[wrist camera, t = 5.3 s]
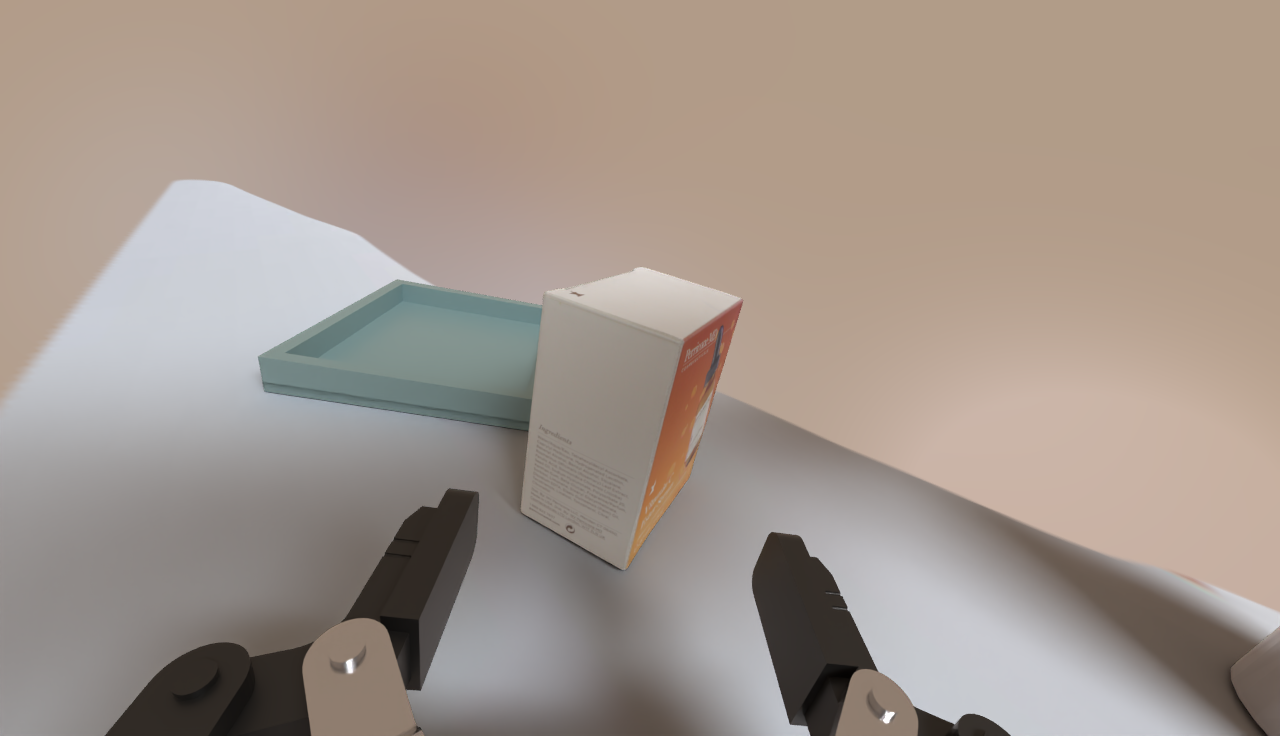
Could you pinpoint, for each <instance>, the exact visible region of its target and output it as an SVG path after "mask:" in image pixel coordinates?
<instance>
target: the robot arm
mask: <svg viewBox="0 0 1280 736" xmlns="http://www.w3.org/2000/svg"><path fill="white" fill-rule="evenodd" d="M478 504H479V494H478V492H473V491H465V490H458V489H450V488H449V489H448V490H447V491H446V493H445V495H444V496H443V498H442V500H441V502H440V504H439V506H438V508H432V507H424V506H422V507H421V508H420V509H418V510H417V511H416V512H415V513H413V514H412V515H411V516H410V517H408V518H407V519H406V520H405V521H404V522H403V524H402V526H401V527H400V529H399V531H398V532H397V534H396V536H395V537H394V540H393V542H391V544H390V546H389V547H388V549H387V550H386V552H385V556H384V557H382V559H381V560H380V562H379V564H378V565H377V567H376V569H375V570H374V572H373V574H372V575H371V577H370V579H369V580H368V582H367V584H366V585H365V587H364V589H363V590H362V592H361V594H360V595H359V597H358V599H357V600H356V602H355V603H354V605H353V607H352V608H351V610H350V612H349V613H348V615H347V616H346V618H345V619H344V620H343V621H342V622H341V623H340V624H337V625H335V626H333V627H332V628H330V629H329V630H327V631H326V632H325V633H323V634H322V635H321V636H320V637H319V638H318V639H317V640H316V641H314V642H312V643H310V644H308V645H305V646H302V647H298V648H295V649H290V650H285V651H280V652H275V653H270V654H265V655H260V656H255V657H249V654H248V652H247V651H246V650H245V649H244V648H243V647H242V646H240V645H237V644H234V643H227V642H225V643H214V644H209V645H206V646H202V647H199V648H197V649H194V650H192V651H190V652H188V653H186V654H184V655H182V656H180V657H179V658H177V659H175V660H174V661H172V662H171V663H170V664H168V665H167V666H166V667H164V668H163V669H162V670H161V671H160V672H159V673H158V674H157V675H156V676H155V677H154V678H153V679H152V680H151V681H150V682H149V683H148V685H147V686H146V687H145V688H144V689H143V691H142V692H141V693H140V694H139V695H138V697H137V698H136V699H135V700H134V701H133V703H132V704H131V705H130V706H129V707H128V709H127V710H126V711H125V712H124V713H123V715H122V716H121V717H120V718H119V719H118V721H117V722H116V723H115V724H114V725H113V727H112V728H111V729H110V730H109V731H108V733H107V734H106V735H105V736H424V734H423V732H422V730H421V728H420V727H417V725H416V722H415V720H414V717H413V713H412V710H411V707H410V703H409V700H408V697H407V693H406V689H407V690H418V691H421V688H422V686H423V683H424V681H425V678H426V675H427V673H428V670H429V668H430V665H431V662H432V660H433V657H434V655H435V652H436V649H437V647H438V644H439V642H440V639H441V636H442V634H443V631H444V629H445V626H446V623H447V621H448V618H449V616H450V613H451V610H452V608H453V605H454V603H455V600H456V597H457V595H458V592H459V590H460V587H461V584H462V582H463V579H464V577H465V574H466V571H467V569H468V566H469V564H470V561H471V558H472V555H473V552H474V548H475V543H476V537H477V523H478ZM752 589H753V594H754V598H755V601H756V605H757V609H758V612H759V616H760V619H761V623H762V626H763V630H764V634H765V637H766V641H767V644H768V648H769V651H770V655H771V659H772V662H773V666H774V669H775V673H776V676H777V680H778V683H779V687H780V691H781V694H782V698H783V701H784V705H785V708H786V712H787V716H788V719H789V723H790V725H801V726H808V729H809V732H810V736H1010V735H1009V734H1008V733H1007V732H1006V731H1005V730H1004V729H1002V728H1001V727H1000V726H999V725H997V724H996V723H994V722H993V721H991V720H989V719H987V718H985V717H983V716H980V715H976V714H966V715H964V716H962V717H961V718H960V719H959V721H958V722H957V723H956V724H952V723H950V722H948V721H945V720H943V719H941V718H938V717H936V716H934V715H932V714H929V713H927V712H925V711H922V710H920V709H918V708H916V707H914V706H913V704H912V703H911V701H910V699H909V698H908V696H907V695H906V694H905V692H904V691H903V690H902V689H901V688H900V687H899V686H898V685H897V684H896V683H895V682H894V681H892V680H891V679H890V678H888V677H887V676H885V675H883V674H882V673H879V672H878V670H877V668H876V666H875V664H874V662H873V660H872V658H871V656H870V654H869V651H868V649H867V647H866V645H865V643H864V641H863V639H862V637H861V635H860V633H859V631H858V628H857V626H856V624H855V622H854V620H853V618H852V616H851V614H850V612H849V611H848V610H847V608H848V607H847V605H846V603H845V601H844V599H843V597H842V596H840V591H839V589H838V587H837V584H836V582H835V580H834V578H833V576H832V574H831V573H830V572H829V571H828V570H827V568H826V567H825V566H824V565H823V564H822V563H821V562H820V560H819V559H818V558H816V557H810V556H809V553H808V551H807V549H806V547H805V544H804V542H803V540H802V539H801V537H800V536H798V535H791V534H783V533H776V532H772V533H770V534H769V535H768V537H767V540H766V542H765V544H764V547H763V549H762V551H761V554H760V556H759V559H758V561H757V563H756V566H755V568H754V571H753V576H752ZM1231 681H1232V683H1233V686H1234V688H1235V690H1236V693H1237V695H1238V697H1239V699H1240V700H1241V701H1242V703H1243V704H1244V706H1245V707H1246V709H1247V710H1248V712H1249V713H1250V714H1251V716H1252V717H1253V719H1254V720H1255V721H1256V722H1257V723H1258V724H1259V726H1260V727H1261V728H1262V729H1263V730H1264V731H1265V732H1266V734H1267V735H1268V736H1280V626H1279V627H1278V628H1277V629H1276V630H1275V631H1273V632H1272V633H1271V634H1270V635H1269V636H1267V637H1266V638H1265V639H1264V640H1263V641H1261V642H1260V643H1259V644H1258V645H1256V646H1255V647H1254V648H1253V649H1252V650H1250V651H1249V652H1248V653H1247V654H1246V655H1244V656H1243V657H1242V658H1241V659H1239V660H1238V661H1237V662H1236V663H1235V664H1234V665H1233V666H1232V667H1231Z"/></svg>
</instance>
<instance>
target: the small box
mask: <svg viewBox="0 0 1280 736" xmlns="http://www.w3.org/2000/svg"><path fill="white" fill-rule="evenodd" d="M742 303H743V300H742V299H741V298H739V297H736V296H733V295H731V294H728V293H725V292H721V291H718V290H715V289H712V288H709V287H705V286H702V285H699V284H696V283H693V282H689V281H686V280H683V279H680V278H677V277H674V276H670V275H667V274H664V273H661V272H658V271H654V270H651V269H648V268H644V267H638V268H636V269H633V270H632V271H630V272H627V273H624V274H620V275H616V276H612V277H608V278H605V279H602V280H597V281H593V282H589V283H585V284H581V285H577V286H574V287H569V288H565V289H562V288H561V289H556V290H551V291H546V292H544V295H543V305H542V315H541V322H540V332H539V341H538V351H537V361H536V369H535V379H534V387H533V396H532V405H531V414H530V424H529V432H528V442H527V451H526V461H525V469H524V480H523V489H522V499H521V509H520V510H521V512H522V513H523V514H525V515H526V516H528V517H530V518H532V519H533V520H535V521H537V522H539V523H541V524H542V525H544V526H546V527H547V528H549V529H551V530H553V531H554V532H556V533H558V534H560V535H561V536H563V537H565V538H567V539H569V540H570V541H572V542H574V543H576V544H577V545H579V546H581V547H583V548H584V549H586V550H588V551H590V552H591V553H593V554H595V555H597V556H598V557H600V558H602V559H604V560H605V561H607V562H609V563H611V564H612V565H614V566H616V567H618V568H619V569H621V570H626V569H627V568H628V566H629V565H630V563H631V561H632V560H633V558H634V557H635V555H636V554H637V552H638V550H639V549H640V547H641V545H642V544H643V542H644V541H645V539H646V538H647V537H648V535H649V534H650V532H651V531H652V529H653V528H654V526H655V525H656V524H657V522H658V521H659V519H660V518H661V517H662V515H663V514H664V512H665V511H666V510H667V508H668V507H669V506H670V504H671V503H672V501H673V500H674V498H675V497H676V496H677V494H678V493H679V491H680V490H681V488H682V487H683V486H684V484H685V483H686V482H687V480H688V479H689V477H690V474H691V470H692V467H693V463H694V460H695V456H696V453H697V450H698V446H699V443H700V440H701V437H702V434H703V430H704V427H705V424H706V421H707V418H708V414H709V411H710V408H711V404H712V401H713V397H714V394H715V390H716V387H717V384H718V381H719V378H720V375H721V372H722V368H723V366H724V363H725V359H726V356H727V352H728V349H729V346H730V343H731V339H732V336H733V333H734V330H735V326H736V323H737V320H738V316H739V313H740V310H741V307H742Z"/></svg>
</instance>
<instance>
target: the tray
mask: <svg viewBox="0 0 1280 736" xmlns="http://www.w3.org/2000/svg"><path fill="white" fill-rule="evenodd" d="M541 315H542V305H537V304H532V303H526V302H521V301H515V300H509V299H503V298H498V297H492V296H487V295H481V294H476V293H469V292H464V291H459V290H453V289H447V288H442V287H436V286H431V285H425V284H419V283H414V282H408V281H402V280H395V281H393V282H391V283H390V284H388V285H386V286H384V287H382V288H381V289H379V290H377V291H375V292H373V293H372V294H370V295H368V296H366V297H364V298H363V299H361V300H359V301H357V302H355V303H354V304H352V305H350V306H348V307H346V308H345V309H343V310H341V311H339V312H337V313H336V314H334V315H332V316H330V317H328V318H326V319H325V320H323V321H321V322H319V323H317V324H316V325H314V326H312V327H310V328H308V329H307V330H305V331H303V332H301V333H299V334H298V335H296V336H294V337H292V338H290V339H289V340H287V341H285V342H283V343H281V344H280V345H278V346H276V347H274V348H272V349H271V350H269V351H267V352H265V353H263V354H262V355H260V356H258V359H259V365H260V370H261V376H262V381H263V387H264V391H266V392H272V393H279V394H286V395H292V396H299V397H306V398H312V399H319V400H326V401H332V402H339V403H346V404H353V405H359V406H366V407H373V408H379V409H386V410H393V411H399V412H406V413H413V414H419V415H426V416H433V417H439V418H446V419H453V420H460V421H466V422H473V423H480V424H486V425H493V426H500V427H506V428H513V429H520V430H526V431H529V424H530V414H531V405H532V396H533V387H534V379H535V369H536V361H537V351H538V341H539V332H540V322H541Z"/></svg>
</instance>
